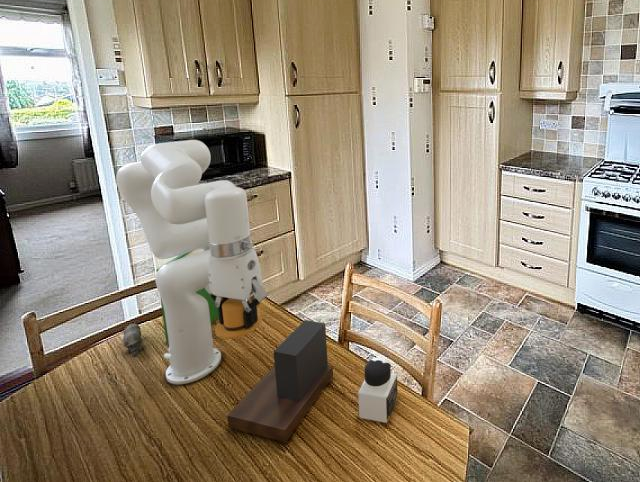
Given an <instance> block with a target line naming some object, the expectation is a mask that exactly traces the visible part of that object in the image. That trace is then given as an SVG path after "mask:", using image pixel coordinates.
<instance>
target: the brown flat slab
mask: <svg viewBox="0 0 640 482" xmlns="http://www.w3.org/2000/svg"><path fill="white" fill-rule="evenodd" d="M333 377H334V366H333V365H332V364H328V365H327V366H326V367H325V369H324V370H323V371H322V373H321V374H320V375H319V376H318V378H317V379H316V380H315V382H314V383H313V384H312V386H311V387H310V388H309V390H308V391H307V392H306V393H305V395H304V396H303V397H302V399H301V400H300V401H295V400H290V399H286V398H282V397H277V387H276V375H275V364H274V365H273V366H272V367H271V369H269V370H268V372H266V373H265V375H264V376H262V378H261V379H260V380H259V381H258V382H257V383H256V384H255V385H254V386H253V387H252V388H251V389H250V391H248V393H246V395H245V396H244V397H243V398H242V399H241V400H240V401H239V402H238V403H237V404H236V405H235V406H234V407H233V408H232V410H230V412H229V413H228V414H227V415H226V417H227V425H228V428H232V430H234V431H235V430H236V431H239V432H242V433H247V434H249V435H254V436H257V437H262V438H265V439H269V440H273V441H277V442H280V443H284V444H286V443H287V442H288V441H289V439H290V438H291V437H292V434H293V433H294V431H295V430H296V428H297V427H298V426H299V424H300V423H301V421H302V420H303V419H304V417H305V416H306V415H307V413H308V412H309V410H310V409H311V408H312V406H313V405H314V403H315V402H316V401H317V399H318V398H319V396H320V395H321V394H322V392H323V391H324V389H325V388H326V387H327V386H328V385H329V383H331V381H332V379H333Z"/></svg>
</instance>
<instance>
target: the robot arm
mask: <svg viewBox="0 0 640 482" xmlns="http://www.w3.org/2000/svg"><path fill="white" fill-rule="evenodd" d="M211 159H212V158H211V152H210V149H209V147H208V146H207V145H206V144H205V143H204V142H203V141H201V140H198V139H187V140H179V141H168V142H160V143H156V144H151V145H150V146H148V147H146V148H145V149H144V151H142V153H141V155H140V161H136V162H131V163H129V164H126V165H123V166H122V167H120V168H119V169H118V171H117V172H116V176H115V178H116V179H115V181H116V185H117V189H118V192H119V193H120V196H121V197H122V199H123V200H124V202H125V203H126V204H127V205H128V206H129V208H130V209H131V210H132V211H133V212H134V213H135V215H136V216H137V217H138V220H139V222H140V225H141V227H142V230H143V233H144V235H145V238H146V240H147V244H148V246H149V248H150V251H151V253H152V254H153V255H154V257H155V258H157V259H159V260H167V259H171V258H172V259H173V258H176V257H177V256H179V255H182V254H185V253H188V252H191V251H195V250H198V249H203V250H204V251H202V252H199V253H196V254H193V255H190V256H187V257H184V258H180V259H178V260H175V261H172V262H170V263H168V264H166V263H165V264H166V265H164V264H163V265H164V266H163V265H162V266H163V267H161V266H160V267H161V268H160V269H159V270H158V272H157V271H156V273H155V277H154V278H155V279H154V280H155V284H156V285H155V286H156V288H157V291H158V293H159V298H160V297H161V299H162V303H163V307H164V312H165V319H166V325H167V333H168V340H169V344H168V346H169V347H168V349H167V352H166V353H164V355H163V359H165V360H168V361H169V366H168V367H167V368H166V371H165V378H166V381H167V382H168V383H170V384H172V385H185V384H190V383H193V382H196V381H198V380H201V379H203V378H205V377H206V376H208V375H209V374H211V373H212V372H213V371H214V370H216V368H217V367H218V366H219V365H220V363H221V361H222V352H221V351H220V350H219V349H218V348H216V347H214V339H213V331H212V324H211V322H210V313H209V305H208V302H207V300H206V299H205V298H204V297H203V296H201V295H199V294H197V293H196V292H197V291H199V290H201V289H203V288H205V290H206V291H207V292H208V293H209V294H211V297H212V299H213V300H214V301H215V306H216V307H219V308H218V312H219V317H218V320H219V322H220V324H224V320H223V310H222V304H223V303H224V302H225V301H226V300H228V299H230V298H233V299H240V300H241V301H242V303H243V306H244V308H245V311H244V312H243V317H244V327H245V329H249V328H250V327H251V326H252V325H253V324H255V323H256V322H257V321H258V316H257V312H258V306H259V305H260V303H262V302H263V301H264V300H265V298H267V297H268V296H269V294H268V292H267V290H266V289H264V288H263V287H264V283H263V276H262V270H261V265H260V260H259V257H258V255H257V252H256V249H255V248H254V242H252V239H251V238H252V237H251V228H250V217H249V208H248V195H247V192H246V190H245V189H244V188H241V187H239V186H236V185H235V184H234V183H233V182H232V181H230V180H225V179H221V180H216V181H210V182H204V183H200V182H201V179H202V175H203V174H204V173H205V172H206V170H207V169H208V168H209V166H210V165H211ZM249 298H251V301H252V302H251V303H249V301H248V299H249ZM161 299H160V300H161Z"/></svg>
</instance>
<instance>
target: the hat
mask: <svg viewBox="0 0 640 482" xmlns="http://www.w3.org/2000/svg"><path fill="white" fill-rule="evenodd" d="M248 301H249V303H251V302H252V301H251V298H249V299H248ZM222 310H223V320H224V324H220V321H219V322H218V323H217V324H216V325H215V328H214V332H215V336H216V337H218V338H220V339H223V340H231V339H238V338H240V337H244V336H246V335H248V334H251V333H252V332H253V331H255V330H256V329H258V327H260V326H261V324H262V322H263V316H262V314H261V312H259V311H257V316H258V321H257V322H256V323H255V324H253V325H252V326H251V327H250V328H249V329H245V327H244V317H243V312H244V311H245V308H244V306H243V303H242V301H241V300H240V299H233V298H230V299H228V300H226V301H225V302H224V303H223V304H222Z"/></svg>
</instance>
